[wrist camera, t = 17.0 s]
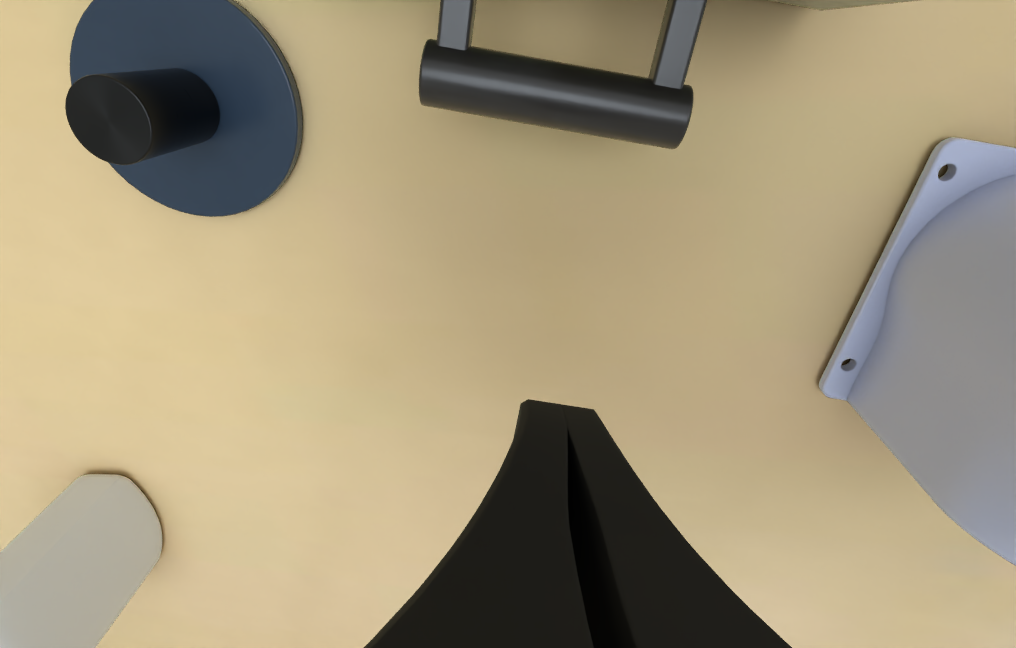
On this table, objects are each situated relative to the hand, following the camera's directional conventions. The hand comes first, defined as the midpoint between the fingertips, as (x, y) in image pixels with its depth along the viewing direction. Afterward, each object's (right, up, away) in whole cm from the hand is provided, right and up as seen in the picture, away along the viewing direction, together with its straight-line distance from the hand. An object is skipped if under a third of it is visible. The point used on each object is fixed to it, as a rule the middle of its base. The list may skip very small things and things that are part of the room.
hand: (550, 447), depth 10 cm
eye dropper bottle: (-19, -7, +16) cm, 26 cm away
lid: (-11, +9, +7) cm, 16 cm away
